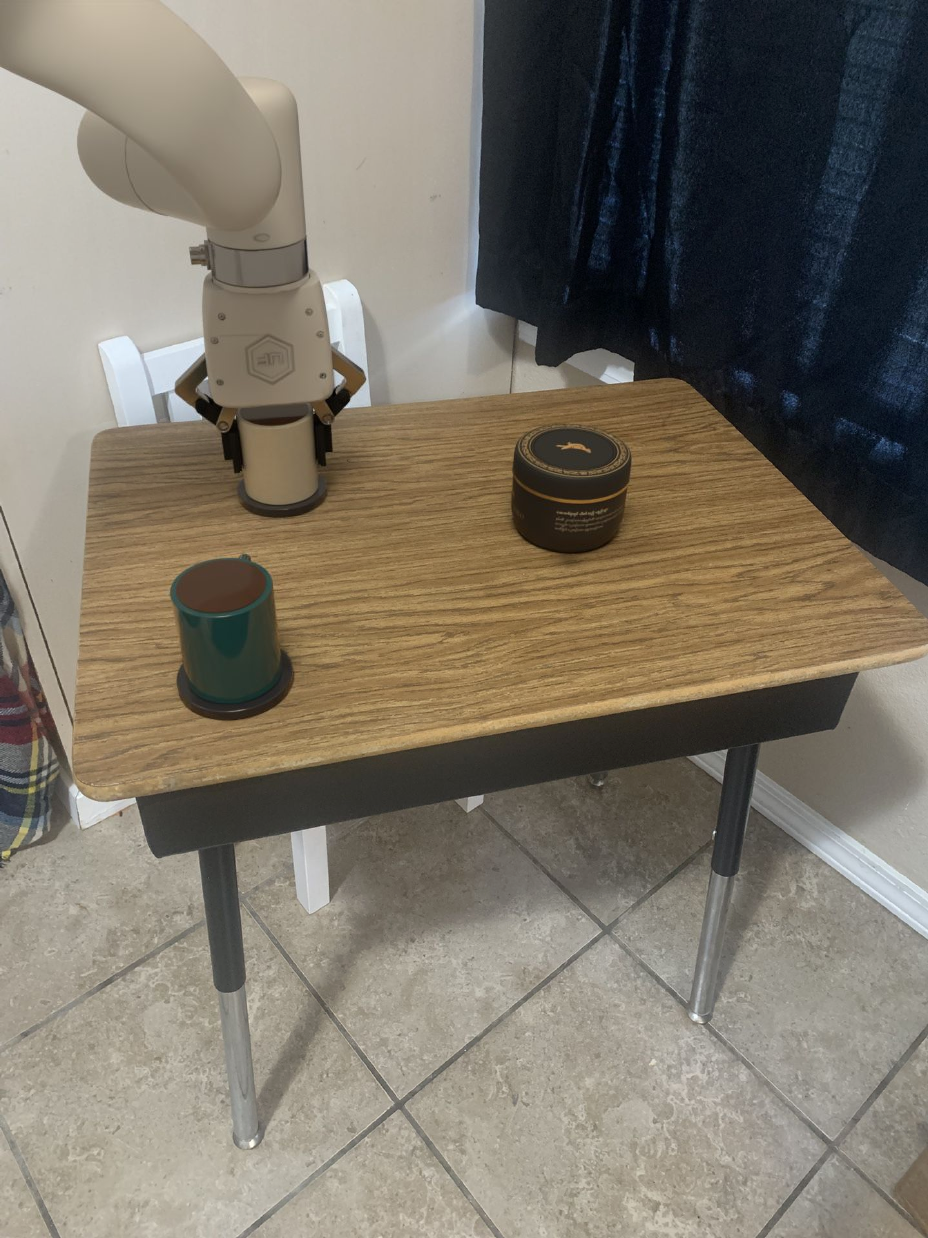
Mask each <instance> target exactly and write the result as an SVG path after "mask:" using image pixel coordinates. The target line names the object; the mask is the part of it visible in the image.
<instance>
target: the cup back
mask: <svg viewBox="0 0 928 1238" xmlns="http://www.w3.org/2000/svg"><path fill="white" fill-rule="evenodd" d="M314 414H315V412H314V409H313V407H312V406H311V404H310V403H306V404H294V405H280V406H266V407H250V408H238V410H237V413H236V415H235V419H236V422H237V430H238V438H239V446H240V453H241V461H242V476H243V477H242V478H244V485H245V491H246V493H247V494H248V496H249V497H251V498H252V499H254V500H256V501H258V502H261V503H264V504H270V505H286V504H293V503H297V502H300V501H303V500H305V499H307V498H309V497H311V496H312V495H313V494H314V493H315V492H316V491H317V489H318V486H319V482H318V473H319V469H318V462H317V454H316V440H315V427H314Z"/></svg>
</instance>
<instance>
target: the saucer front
mask: <svg viewBox="0 0 928 1238" xmlns="http://www.w3.org/2000/svg"><path fill="white" fill-rule="evenodd" d="M280 650H281V659H282V674H281V676H280V679H279V680H278V682H277V683H276V684H275V686H274V687H273V688H272V689H270V690H269V691H268V692H266V693H265V694H263V695H261V696H260V697H257V698H255V699H252V700H250V701H246V702H242V703H235V704H221V703H214V702H210V701H207V700H204V699H202V698H200V697H199V696H197V695H196V694H195V693H194V692H193V691H192V690H191V689H190V688H189V686H188V683H187V680H186V675H185V670H184V664H183V662H182V663H181V665H180V667H179V668H178V671H177V674H176V678H175V679H176V688H177V692H178V696H179V698H180V700H181V702H182V703H183V705H185V707H187V708H188V709H189V710H190V711H192V712H193V713H195V714H197V715H199V716H202V717H204V718H208V719H213V720H219V721H221V720H222V721H233V720H243V719H248V718H252V717H254V716H258V715H260V714H262V713H265V712H267V711H268V710H271V709H272V708H273V707H275V706H276V705H278V704H279V703H281V701H282V700H283V699H284V698H285V697H286V696H287V695H288V693H289V691H290V690H291V688H292V686H293V682H294V668H293V663H292V660H291V658H290V656H289V655H288V654H287V651H285V650H284V649H283V648H282V647H280Z"/></svg>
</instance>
